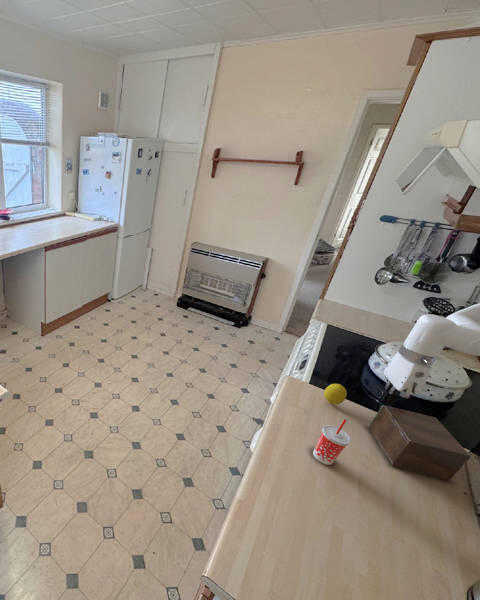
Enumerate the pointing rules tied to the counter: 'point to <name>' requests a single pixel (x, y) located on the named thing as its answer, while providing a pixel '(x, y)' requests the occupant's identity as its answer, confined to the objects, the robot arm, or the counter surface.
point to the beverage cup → (331, 443)
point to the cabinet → (418, 443)
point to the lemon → (335, 393)
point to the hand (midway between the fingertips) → (386, 401)
